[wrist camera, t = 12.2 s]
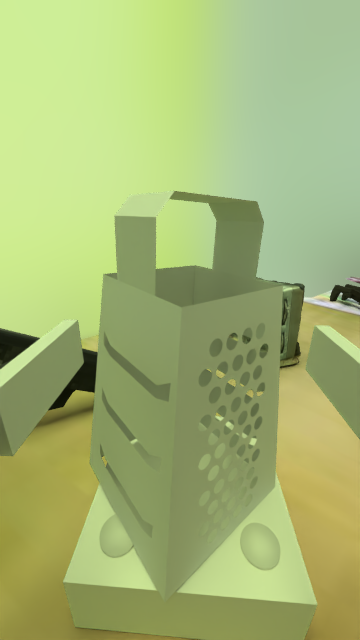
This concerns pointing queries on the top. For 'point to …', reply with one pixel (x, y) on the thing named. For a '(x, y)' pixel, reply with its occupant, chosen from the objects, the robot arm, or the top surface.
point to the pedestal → (196, 571)
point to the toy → (346, 292)
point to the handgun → (11, 344)
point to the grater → (185, 382)
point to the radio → (286, 323)
